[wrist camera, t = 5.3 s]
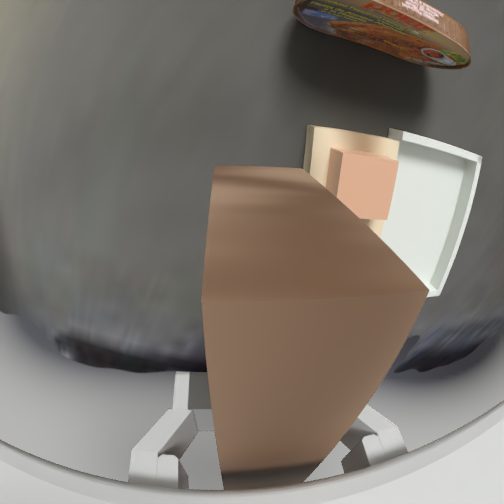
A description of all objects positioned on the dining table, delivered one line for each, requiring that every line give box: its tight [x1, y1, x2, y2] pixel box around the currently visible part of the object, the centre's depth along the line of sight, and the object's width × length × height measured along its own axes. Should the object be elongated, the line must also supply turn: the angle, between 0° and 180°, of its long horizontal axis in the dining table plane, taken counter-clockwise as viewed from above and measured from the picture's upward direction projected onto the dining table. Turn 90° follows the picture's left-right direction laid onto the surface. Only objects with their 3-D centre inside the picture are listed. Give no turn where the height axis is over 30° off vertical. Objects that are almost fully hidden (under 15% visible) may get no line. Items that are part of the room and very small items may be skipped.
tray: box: [380, 128, 482, 297], centre depth 26 cm, size 12×18×2 cm, turn 177°
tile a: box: [326, 147, 399, 220], centre depth 21 cm, size 5×5×2 cm
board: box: [303, 125, 399, 237], centre depth 25 cm, size 8×16×2 cm, turn 177°
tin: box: [293, 0, 471, 69], centre depth 13 cm, size 15×3×8 cm, turn 84°
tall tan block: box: [201, 166, 430, 490], centre depth 10 cm, size 3×14×7 cm, turn 177°
